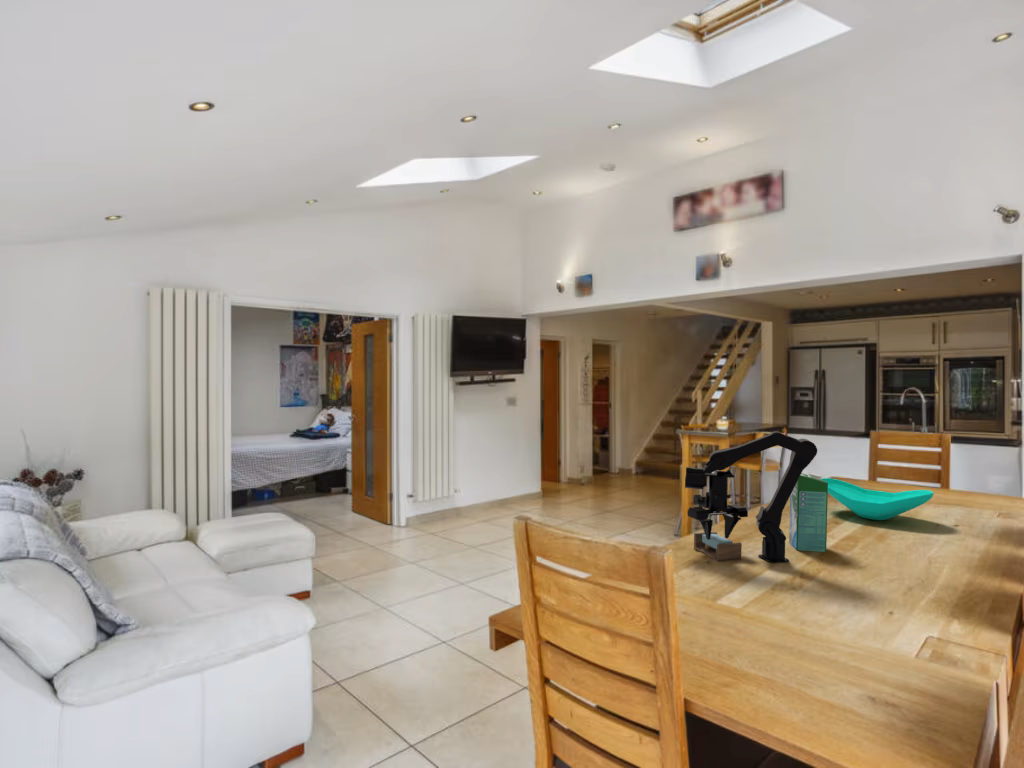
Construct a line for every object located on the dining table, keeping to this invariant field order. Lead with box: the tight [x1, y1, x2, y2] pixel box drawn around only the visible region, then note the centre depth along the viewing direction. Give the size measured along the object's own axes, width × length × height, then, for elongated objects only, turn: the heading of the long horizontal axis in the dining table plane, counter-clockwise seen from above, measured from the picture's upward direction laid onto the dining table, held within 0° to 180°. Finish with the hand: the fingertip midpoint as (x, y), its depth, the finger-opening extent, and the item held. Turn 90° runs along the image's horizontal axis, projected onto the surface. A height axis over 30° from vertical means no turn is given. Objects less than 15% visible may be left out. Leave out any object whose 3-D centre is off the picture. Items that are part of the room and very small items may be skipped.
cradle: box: [693, 531, 742, 562], centre depth 186 cm, size 14×8×5 cm, turn 15°
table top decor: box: [821, 477, 935, 521], centre depth 234 cm, size 40×28×13 cm
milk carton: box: [788, 472, 829, 553], centre depth 193 cm, size 9×9×25 cm
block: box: [702, 533, 734, 549], centre depth 186 cm, size 9×5×2 cm, turn 16°
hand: (717, 538), depth 186 cm, fingers open, 6 cm apart
